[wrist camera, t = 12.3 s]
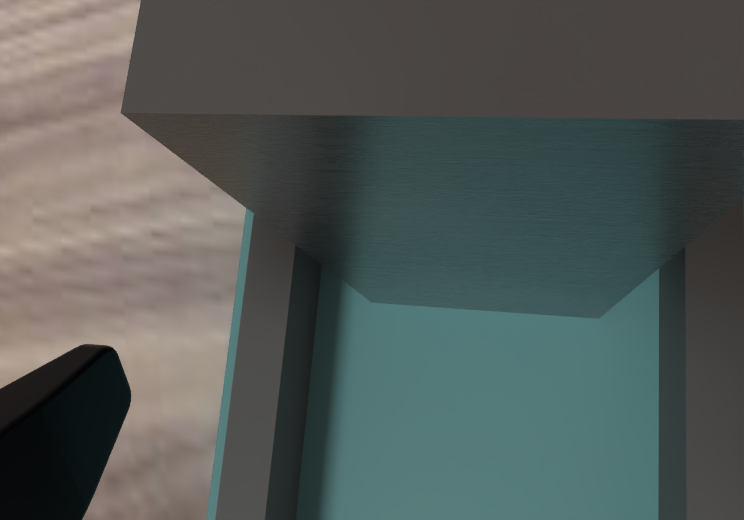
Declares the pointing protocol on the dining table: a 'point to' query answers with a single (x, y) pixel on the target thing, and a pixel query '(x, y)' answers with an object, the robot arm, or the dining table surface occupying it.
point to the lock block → (458, 136)
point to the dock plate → (482, 398)
